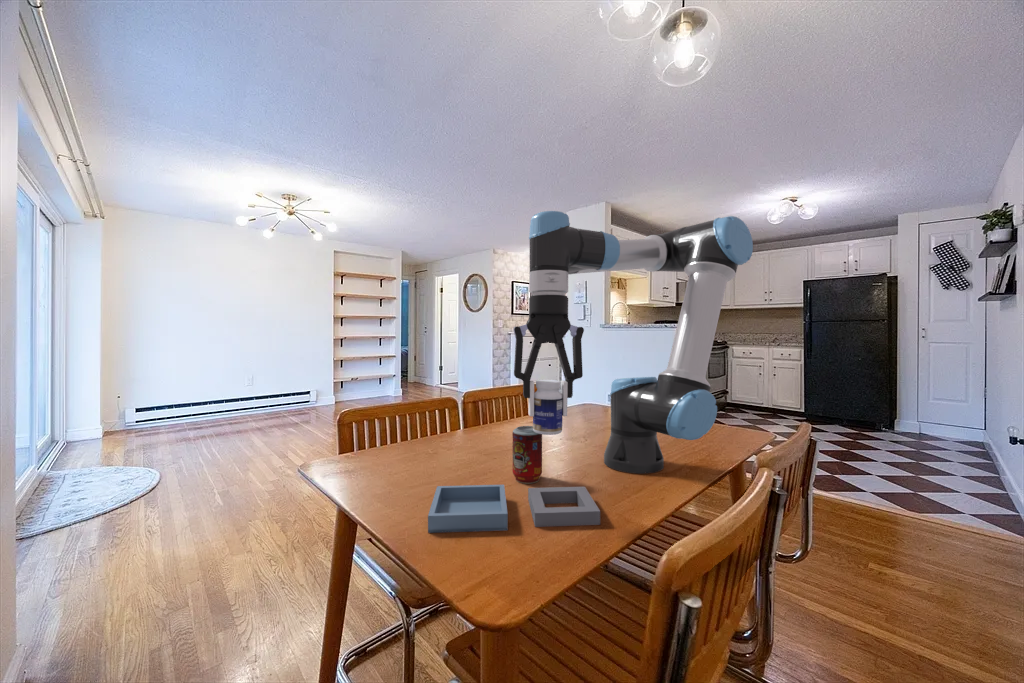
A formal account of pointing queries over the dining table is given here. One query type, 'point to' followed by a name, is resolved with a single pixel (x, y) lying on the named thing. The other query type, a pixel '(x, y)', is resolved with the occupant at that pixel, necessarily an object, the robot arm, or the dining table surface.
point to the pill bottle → (548, 408)
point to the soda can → (527, 455)
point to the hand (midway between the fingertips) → (547, 414)
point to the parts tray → (468, 509)
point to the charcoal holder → (562, 515)
